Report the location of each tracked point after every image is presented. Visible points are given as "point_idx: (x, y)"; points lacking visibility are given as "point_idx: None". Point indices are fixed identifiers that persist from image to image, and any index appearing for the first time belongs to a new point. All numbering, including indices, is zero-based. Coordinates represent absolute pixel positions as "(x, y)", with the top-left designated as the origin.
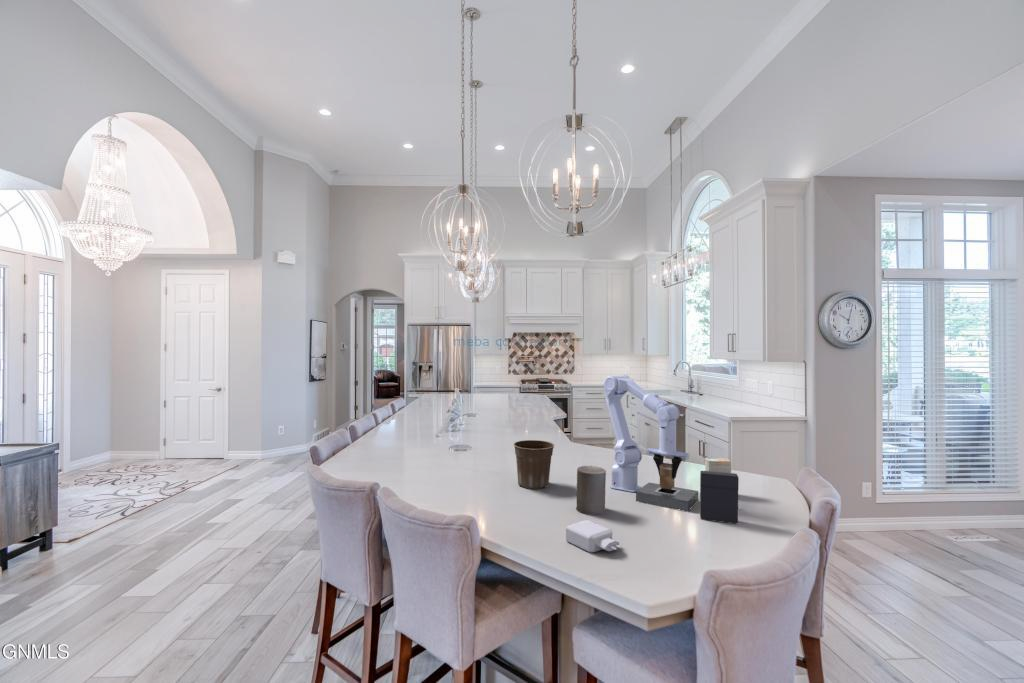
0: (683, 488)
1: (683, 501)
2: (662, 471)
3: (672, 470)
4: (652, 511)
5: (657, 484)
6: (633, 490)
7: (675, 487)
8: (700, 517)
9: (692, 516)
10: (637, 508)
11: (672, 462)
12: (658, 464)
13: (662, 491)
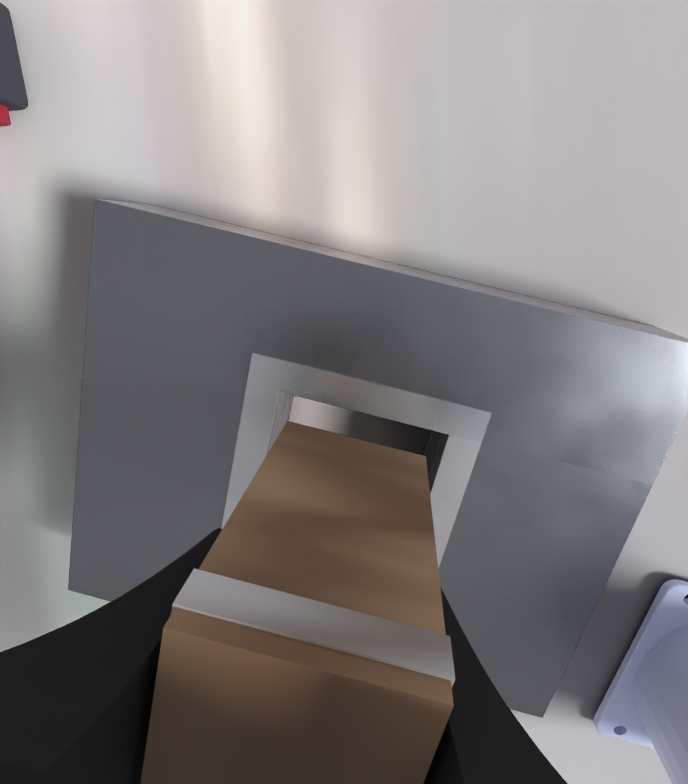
0: None
1: (150, 212)
2: (387, 579)
3: None
4: (481, 44)
5: None
6: (675, 604)
7: None
8: (3, 6)
9: (94, 71)
10: (649, 76)
11: (63, 721)
12: (489, 747)
13: None
